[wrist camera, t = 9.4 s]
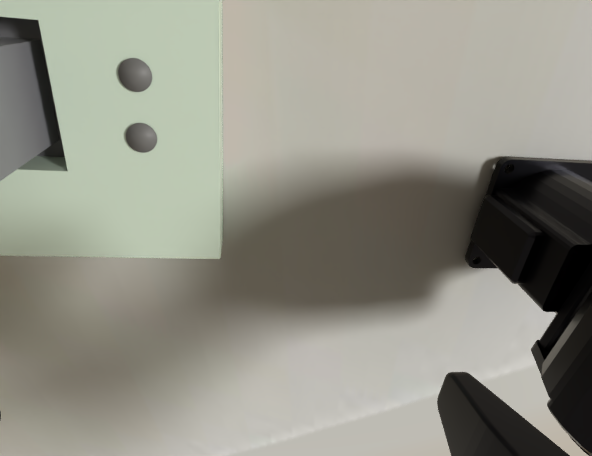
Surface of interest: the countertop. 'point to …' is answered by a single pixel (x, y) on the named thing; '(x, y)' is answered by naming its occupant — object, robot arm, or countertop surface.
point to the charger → (23, 104)
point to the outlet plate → (122, 131)
